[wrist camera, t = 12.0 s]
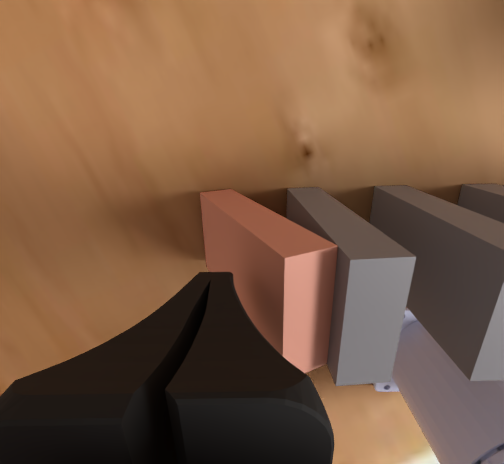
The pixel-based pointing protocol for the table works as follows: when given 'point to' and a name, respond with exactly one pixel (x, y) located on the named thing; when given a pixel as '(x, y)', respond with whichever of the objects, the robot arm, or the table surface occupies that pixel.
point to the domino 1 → (358, 287)
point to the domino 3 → (483, 200)
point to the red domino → (274, 273)
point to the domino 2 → (451, 274)
